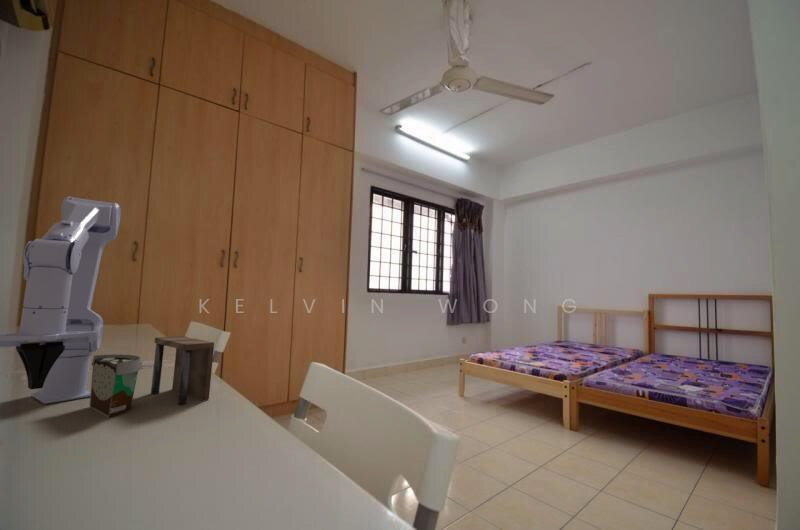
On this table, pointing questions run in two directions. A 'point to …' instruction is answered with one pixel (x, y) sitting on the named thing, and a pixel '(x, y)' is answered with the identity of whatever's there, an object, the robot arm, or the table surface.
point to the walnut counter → (186, 366)
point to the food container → (113, 383)
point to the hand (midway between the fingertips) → (35, 387)
